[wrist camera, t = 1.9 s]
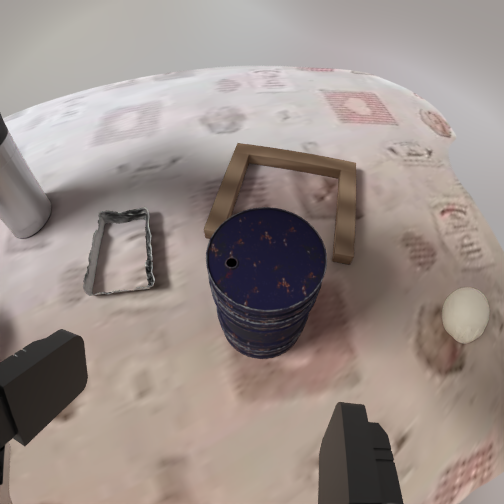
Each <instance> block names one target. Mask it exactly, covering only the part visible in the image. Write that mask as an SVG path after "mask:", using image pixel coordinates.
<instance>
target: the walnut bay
mask: <svg viewBox="0 0 504 504" xmlns="http://www.w3.org/2000/svg"><path fill="white" fill-rule="evenodd" d="M249 163H251V164H257V165H264V166H271V167H277V168H283V169H289V170H295V171H301V172H307V173H312V174H318V175H323V176H328V177H333V178H339V181H338V197H337V211H336V224H335V236H334V247H333V257H332V261H333V262H339V263H344V264H350V263H351V261H352V259H353V257H354V242H355V214H356V163H354V162H349V161H344V160H339V159H334V158H329V157H324V156H319V155H313V154H307V153H302V152H296V151H290V150H283V149H277V148H270V147H263V146H256V145H248V144H240V143H238V144H237V146H236V148H235V151H234V153H233V156H232V158H231V161H230V163H229V166H228V168H227V171H226V173H225V176H224V178H223V181H222V183H221V186H220V188H219V191H218V193H217V196H216V199H215V201H214V204H213V206H212V209H211V212H210V214H209V217H208V220H207V222H206V225H205V228H204V233H205V238H208V239H211V237H212V235H213V234H214V232H215V230H216V229H217V228H218V227H219V226H220V225H221V224H222V223H223V222H224V221H226V220H227V219H228V218H230V217H231V215H232V212H233V209H234V206H235V203H236V200H237V197H238V194H239V191H240V188H241V185H242V182H243V179H244V176H245V173H246V170H247V168H248V165H249Z"/></svg>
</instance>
